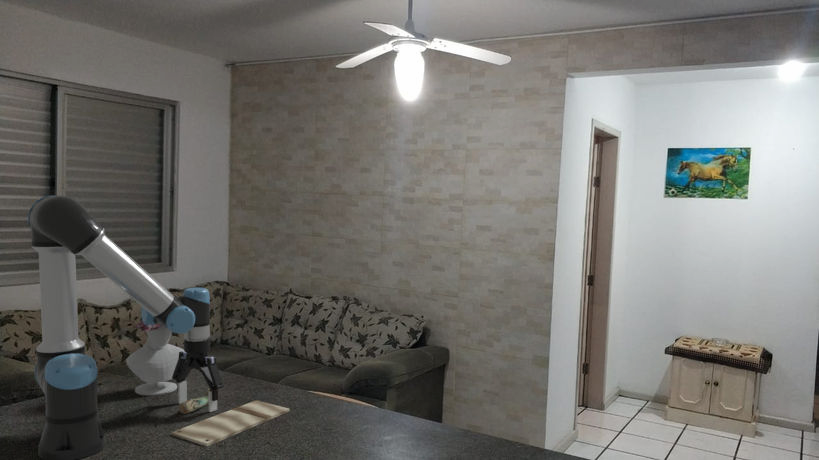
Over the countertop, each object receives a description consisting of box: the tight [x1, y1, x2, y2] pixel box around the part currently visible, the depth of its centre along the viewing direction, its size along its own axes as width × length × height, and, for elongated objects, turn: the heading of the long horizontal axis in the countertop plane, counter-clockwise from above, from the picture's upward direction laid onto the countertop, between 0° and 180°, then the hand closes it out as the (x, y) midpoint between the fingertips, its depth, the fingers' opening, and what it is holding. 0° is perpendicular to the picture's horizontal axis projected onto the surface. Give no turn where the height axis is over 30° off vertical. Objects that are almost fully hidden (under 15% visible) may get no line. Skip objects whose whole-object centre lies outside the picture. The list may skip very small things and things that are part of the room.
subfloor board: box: [170, 400, 291, 447], centre depth 183 cm, size 32×14×1 cm, turn 149°
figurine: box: [178, 388, 210, 415], centre depth 195 cm, size 6×15×4 cm, turn 155°
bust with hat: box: [125, 320, 184, 396], centre depth 210 cm, size 19×18×30 cm
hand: (197, 406), depth 195 cm, fingers open, 13 cm apart
